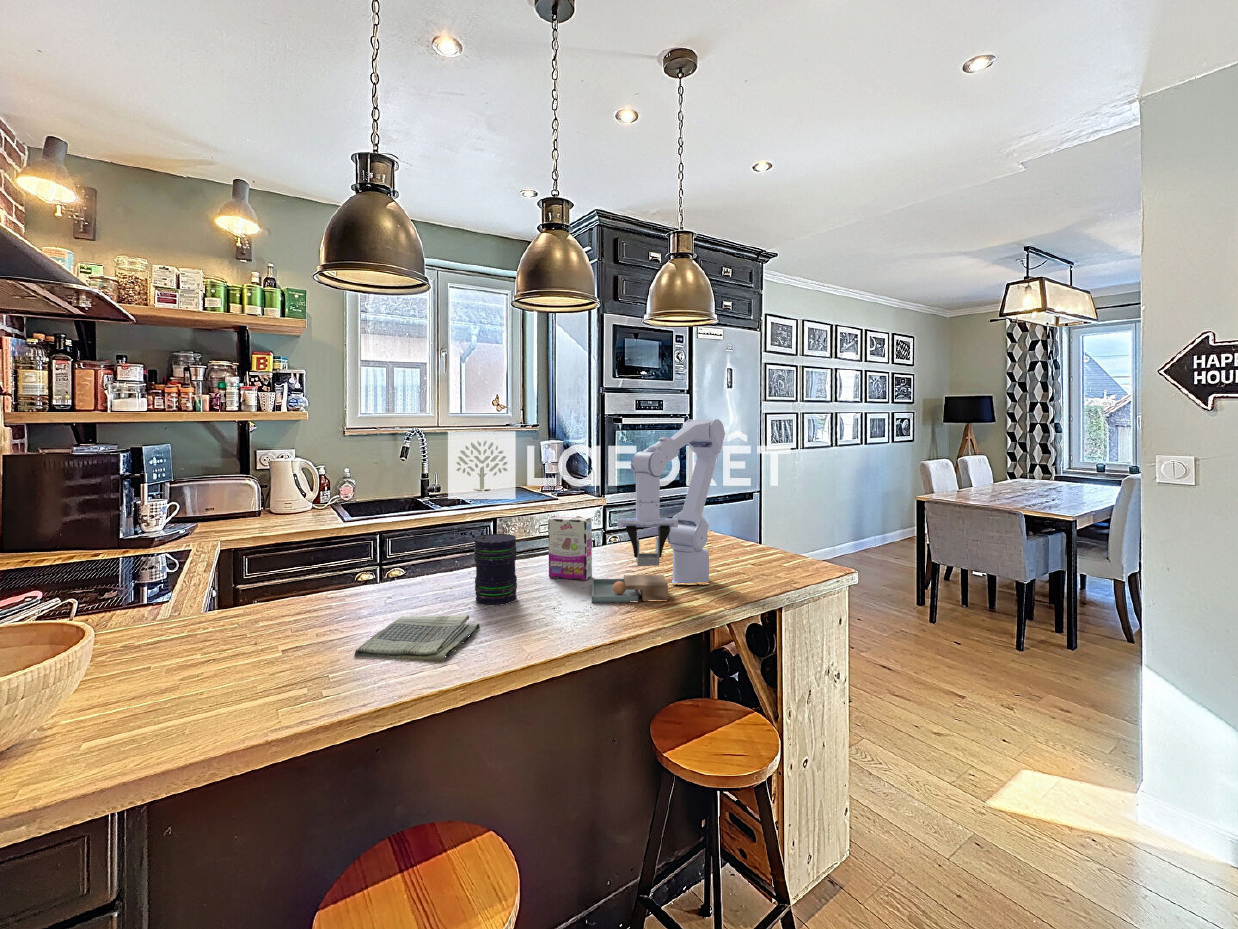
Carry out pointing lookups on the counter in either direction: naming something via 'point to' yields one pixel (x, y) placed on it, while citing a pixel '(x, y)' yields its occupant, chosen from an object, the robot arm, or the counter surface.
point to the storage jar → (495, 569)
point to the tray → (610, 592)
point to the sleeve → (648, 556)
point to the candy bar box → (570, 548)
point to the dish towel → (419, 638)
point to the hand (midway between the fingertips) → (647, 556)
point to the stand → (648, 586)
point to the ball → (619, 588)
